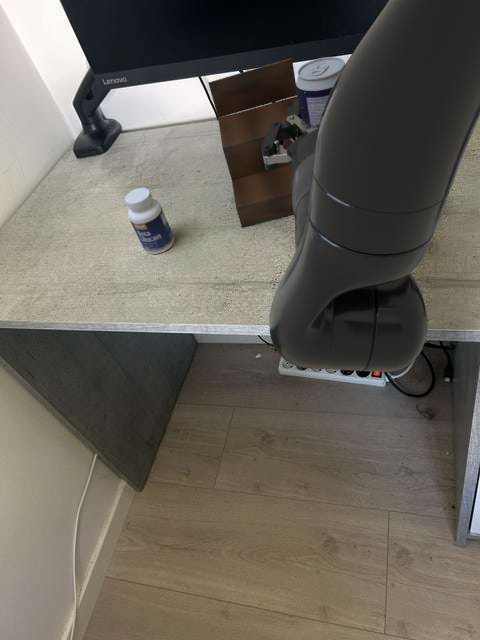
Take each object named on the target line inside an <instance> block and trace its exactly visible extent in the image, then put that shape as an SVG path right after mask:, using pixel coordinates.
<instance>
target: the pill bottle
mask: <svg viewBox="0 0 480 640" xmlns="http://www.w3.org/2000/svg"><path fill="white" fill-rule="evenodd" d="M124 200H125V201H124V202H125V203H126V205H127V207H128V212H127V217H128V219H129V222H130V224H131V226H132V227H133V230H134V233H136V236H137V238H138V240H139V242H140V244H141V246H142V248H143V250H144V251H145V252H146V253H148V254H151V255H157V254H161V253H164V252H166V251H168V250H169V249H170V248H171V247H172V246H173V244H174V243H175V236H174V233H173V230H172V229H171V226H170V224H169V222H168V219H167V217H166V215H165V212H164V209H163V207H162V205H161V202H159V201H158V200H157V199H155V198H153V194H152V193H151V191H150V189H149V188H147V187H138V188H134V189H132V190H130V191H129V192H128V193H127V194H126V196H125V198H124Z"/></svg>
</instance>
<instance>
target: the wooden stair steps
mask: <svg viewBox="0 0 480 640" xmlns="http://www.w3.org/2000/svg"><path fill="white" fill-rule="evenodd" d="M293 62H294V61H293V58H292V57H291V58H287V59H284V60H280V61H277V62H273V63H270V64H267V65H262V66H260V67H256V68H253V69H249V70H246V71H242V72H239V73H236V74H232V75H229V76H225V77H222V78H219V79H215V80H212V81H208V83H207V84H208V87H209V91H210V95H211V98H212V101H213V105H214V108H215V113H216V116H217V118H218V119H217V120H218V126H219V133H220V134H219V135H220V141H221V147H222V152H223V155H224V158H225V162H226V165H227V168H228V173H229V176H230V179H231V185H232V191H233V197H234V202H235V203H234V204H235V209H236V213H237V217H238V220H239V222H240V226H241V228H246V227H250V226H254V225H258V224H262V223H267V222H270V221H273V220H277V219H282V218H285V217H289V216H292V215H293V216H294V212H293V207H292V167H291V166H290V164H289V162H285V163H278V165H277V168H276V169H274V170H272V171H267V170H266V167H265V163H264V159H263V154H262V149H261V147H262V145H263V142H264V139H265V137H266V134H267V131H268V129H269V126H270V124H271V123H272V122H274V121H281V123H284V122H286V121H287V120H286V118H287V117H288V108H289V107H290V106H293V101H298V98H297V92H296V82H297V80H296V74H295V68H294V63H293ZM284 141H285V144H284V147H283V148H284V149H285V150H287V148H288V147H289V146H290V145H291V144H292V143H293V142H292V141H291V140H290V139H287V140H284Z"/></svg>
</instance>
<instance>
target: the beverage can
mask: <svg viewBox="0 0 480 640" xmlns="http://www.w3.org/2000/svg"><path fill="white" fill-rule="evenodd" d="M345 64H346V62H345V61H344V60H343V59H342V58H340V57H337V56H326V57H319V58H316V59H313V60H310V61H308V62H306V63H304V64H303V65H301V66H300V67H299V68H298V70H297V78H296V92H297V98H298V105H299V111H300V118H301V119H303V118H305V119H306V120H307V121H308V122H310V123H311V124H312V125H313V126H316V125H319V124H320V120H321V117H322V113H323V111H324V108H325V105H326V103H327V100H328V98H329V95H330V93H331V90H332V88H333V86H334V84H335V82H336V80H337V78H338V76H339V74H340V73H341V71H342V69H343V67H344V66H345Z"/></svg>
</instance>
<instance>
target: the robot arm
mask: <svg viewBox="0 0 480 640" xmlns="http://www.w3.org/2000/svg"><path fill="white" fill-rule="evenodd" d="M479 119H480V0H388V2H387V3H386V5H385V6H384V7H383V9H382V11H381V12H380V13H379V15H378V16H377V17H376V19H375V20H374V22H373V23H372V24H371V26H370V27H369V29H368V30H367V31H366V33H365V34H364V36H363V37H362V38H361V40H360V42H359V43H358V44H357V46H356V47H355V49H354V50H353V52H352V53H351V55H350V57H349V58H348V59H347V61H346V62H345V66H344V67H343V69H342V71H341V73H340V74H339V76H338V78H337V80H336V82H335V84H334V86H333V88H332V90H331V93H330V95H329V98H328V100H327V103H326V105H325V108H324V111H323V113H322V117H321V120H320V124H319V125H316V126H313V125H312V124H311V123H310V122H308V121H307V120H306V119H305V118H303V119H301V118H300V111H299V105H298V101H293V106H290V107H289V108H288V117H287V118H286V120H287V121H286V122H284V123H281V121H274V122H272V123H271V124H270V126H269V129H268V131H267V134H266V137H265V139H264V142H263V145H262V147H261V149H262V154H263V159H264V163H265V167H266V170H267V171H272V170H274V169H276V168H277V165H278V163H285V162H289V164H290V166H291V167H292V207H293V212H294V214H293V216H294V250H295V252H294V254H293V256H292V258H291V261H290V262H289V264H288V266H287V267H286V269H285V271H284V273H283V275H282V277H281V279H280V281H279V284H278V285H277V288H276V290H275V293H274V295H273V299H272V302H271V306H270V311H269V317H268V319H269V321H268V330H269V336H270V340H271V343H272V345H273V347H274V349H275V351H276V352H277V353H278V354H279V356H280V357H281V358H282V359H283V360H284V361H286V362H287V363H288V364H290V365H292V366H295V367H298V368H302V369H310V370H311V369H312V370H313V369H314V370H334V371H335V370H336V371H338V370H339V371H351V372H352V371H355V372H362V371H364V372H373V373H374V372H375V373H392V372H398V371H401V370H403V369H405V368H407V367H409V366H410V365H411V364H413V363H414V361H416V359H417V358H418V357H419V356H420V354H421V352H422V351H423V348H424V346H425V343H426V340H427V336H428V331H429V330H428V329H429V318H428V317H429V316H428V310H427V305H426V301H425V298H424V295H423V292H422V290H421V288H420V285H419V283H418V281H417V279H416V278H415V276H414V274H413V272H414V271H415V270H416V269H417V268H418V267H419V266H420V264H421V263H422V262H423V260H424V258H425V256H426V254H427V253H428V250H429V248H430V245H431V242H432V240H433V238H434V235H435V232H436V229H437V227H438V224H439V222H440V219H441V216H442V213H443V211H444V208H445V205H446V202H447V200H448V198H449V194H450V192H451V190H452V187H453V184H454V182H455V179H456V176H457V174H458V170H459V168H460V165H461V163H462V160H463V157H464V154H465V152H466V149H467V147H468V144H469V142H470V140H471V138H472V136H473V133H474V131H475V129H476V126H477V123H478V121H479ZM287 139H290V140H291V141H292V142H293V143H292V144H291V145H290V146H289V147H288V148H287V150H285V149H284V148H283V147H284V144H285V141H284V140H287Z"/></svg>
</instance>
